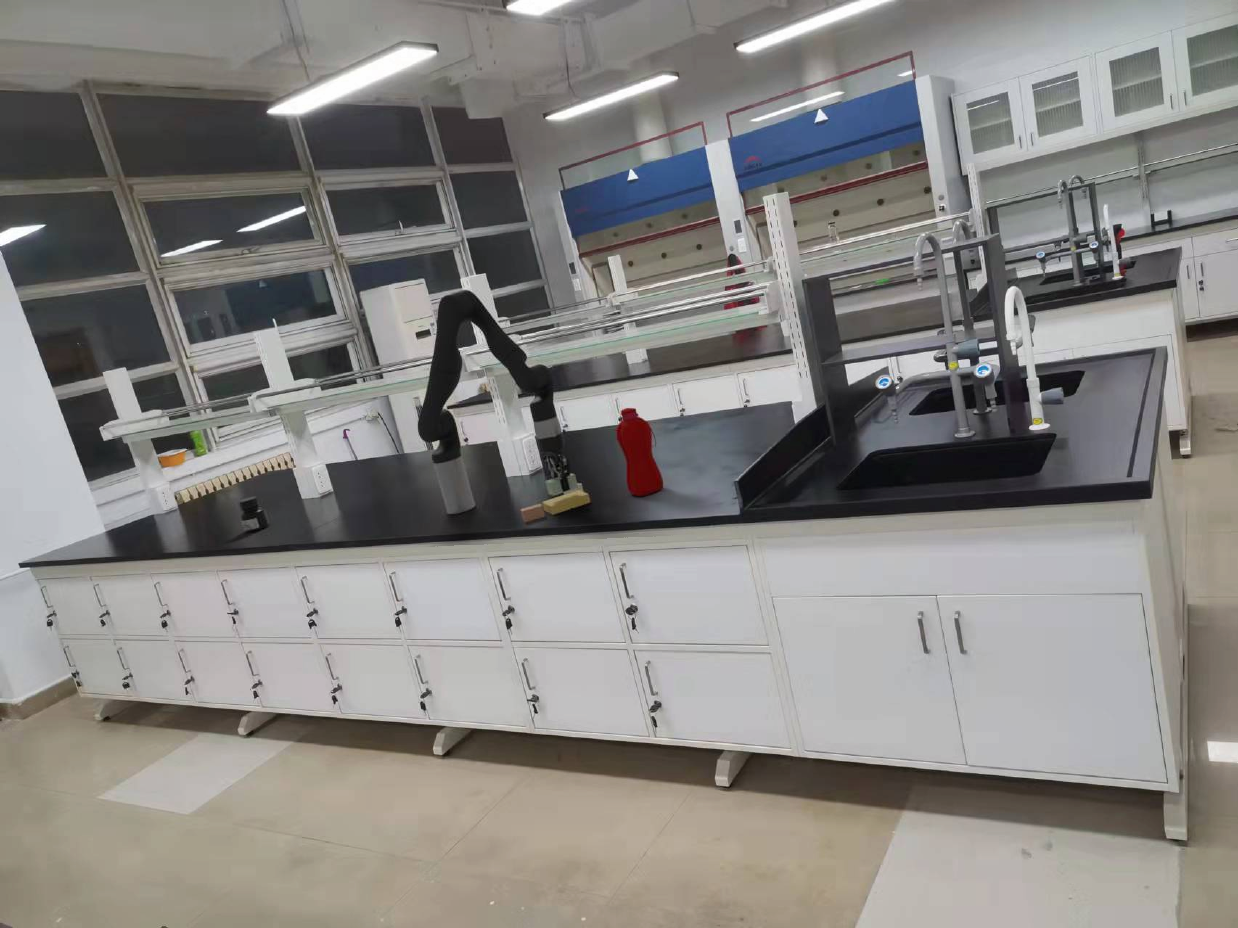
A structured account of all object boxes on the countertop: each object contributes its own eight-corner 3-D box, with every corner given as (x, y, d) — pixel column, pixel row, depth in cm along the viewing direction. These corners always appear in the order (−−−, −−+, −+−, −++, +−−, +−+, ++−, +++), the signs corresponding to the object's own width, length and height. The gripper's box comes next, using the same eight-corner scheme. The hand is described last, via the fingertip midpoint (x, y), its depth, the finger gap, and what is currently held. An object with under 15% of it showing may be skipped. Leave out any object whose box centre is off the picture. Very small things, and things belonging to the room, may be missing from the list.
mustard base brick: (544, 511, 257) (542, 502, 256) (581, 499, 261) (579, 489, 260) (553, 516, 249) (550, 506, 249) (590, 503, 253) (588, 493, 253)
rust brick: (524, 522, 248) (521, 511, 247) (523, 520, 251) (520, 509, 250) (545, 517, 249) (542, 505, 249) (543, 514, 252) (540, 503, 251)
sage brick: (548, 494, 254) (545, 481, 253) (572, 485, 257) (569, 473, 256) (554, 495, 250) (550, 482, 249) (578, 487, 254) (574, 474, 253)
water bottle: (673, 486, 248) (654, 403, 243) (640, 498, 244) (621, 413, 239) (657, 483, 257) (639, 401, 251) (626, 494, 252) (606, 412, 247)
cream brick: (564, 496, 267) (561, 486, 267) (571, 493, 269) (569, 483, 268) (577, 497, 263) (574, 486, 262) (584, 494, 265) (581, 483, 264)
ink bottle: (240, 533, 327) (230, 503, 324) (260, 525, 334) (250, 495, 331) (254, 533, 321) (244, 502, 318) (275, 524, 328) (265, 494, 325)
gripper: (527, 436, 255) (542, 491, 258) (547, 439, 242) (562, 496, 246) (550, 429, 258) (564, 483, 262) (570, 431, 245) (584, 488, 249)
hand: (563, 489), depth 254 cm, fingers closed on sage brick, 4 cm apart
